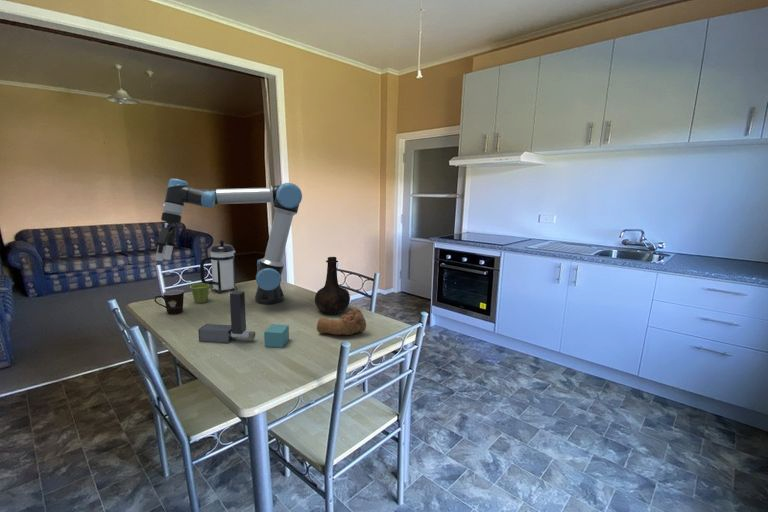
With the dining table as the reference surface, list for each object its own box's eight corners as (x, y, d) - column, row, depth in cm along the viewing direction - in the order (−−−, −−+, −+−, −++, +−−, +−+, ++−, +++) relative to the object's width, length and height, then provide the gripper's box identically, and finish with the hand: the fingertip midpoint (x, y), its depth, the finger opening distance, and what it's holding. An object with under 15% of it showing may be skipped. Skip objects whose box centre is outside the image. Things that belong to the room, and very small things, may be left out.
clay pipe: (356, 350, 142) (371, 327, 154) (353, 330, 137) (369, 308, 149) (317, 339, 149) (335, 319, 161) (313, 320, 144) (332, 300, 156)
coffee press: (216, 286, 212) (213, 237, 206) (242, 287, 212) (240, 238, 206) (201, 294, 195) (197, 242, 189) (228, 295, 195) (226, 243, 189)
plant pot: (191, 299, 185) (190, 284, 184) (211, 298, 189) (210, 282, 188) (190, 305, 177) (189, 288, 175) (210, 303, 181) (209, 287, 179)
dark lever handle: (205, 338, 137) (202, 292, 134) (210, 334, 141) (207, 289, 138) (251, 341, 136) (249, 294, 133) (256, 336, 140) (254, 291, 137)
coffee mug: (189, 309, 170) (187, 290, 169) (177, 315, 162) (175, 295, 160) (167, 308, 171) (165, 289, 170) (154, 314, 163) (152, 294, 161)
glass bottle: (344, 318, 166) (345, 262, 161) (309, 315, 169) (308, 259, 163) (353, 306, 183) (354, 255, 178) (321, 304, 186) (321, 253, 181)
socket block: (264, 346, 134) (264, 332, 133) (272, 337, 142) (272, 324, 141) (282, 347, 134) (281, 333, 133) (289, 338, 142) (288, 325, 140)
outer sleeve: (199, 341, 136) (198, 329, 136) (207, 335, 142) (206, 323, 141) (228, 343, 136) (227, 331, 135) (235, 336, 142) (235, 325, 141)
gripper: (169, 214, 165) (161, 257, 164) (154, 208, 142) (144, 259, 141) (187, 217, 168) (178, 260, 167) (175, 212, 144) (165, 262, 143)
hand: (163, 260), depth 154 cm, fingers open, 13 cm apart
